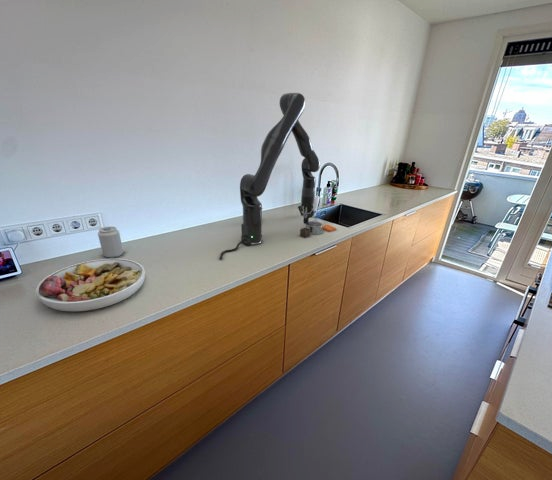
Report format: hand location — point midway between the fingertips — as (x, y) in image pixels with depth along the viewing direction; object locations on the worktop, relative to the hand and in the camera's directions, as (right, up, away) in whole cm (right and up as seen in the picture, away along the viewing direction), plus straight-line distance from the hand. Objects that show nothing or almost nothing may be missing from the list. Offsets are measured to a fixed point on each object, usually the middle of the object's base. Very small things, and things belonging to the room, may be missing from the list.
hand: (305, 223), depth 170 cm
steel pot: (+5, -5, -3) cm, 7 cm away
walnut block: (-1, -8, -11) cm, 13 cm away
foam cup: (+4, +9, +25) cm, 27 cm away
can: (-84, -20, -47) cm, 98 cm away
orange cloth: (+14, -3, +2) cm, 14 cm away
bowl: (-73, -32, -71) cm, 107 cm away
